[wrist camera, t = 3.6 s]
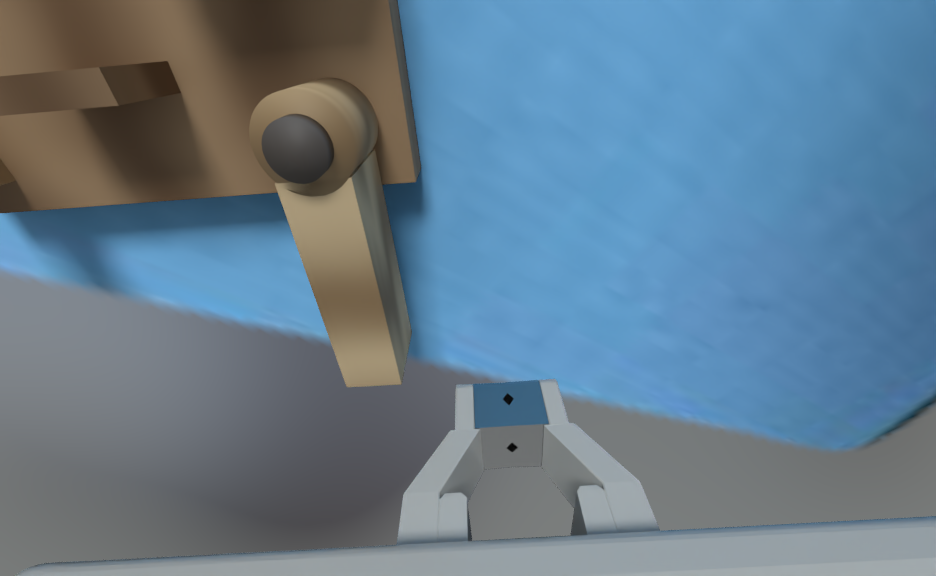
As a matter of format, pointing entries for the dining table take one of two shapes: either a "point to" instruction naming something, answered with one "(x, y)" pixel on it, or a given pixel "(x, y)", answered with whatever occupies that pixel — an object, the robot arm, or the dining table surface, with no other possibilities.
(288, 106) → the hinged leg
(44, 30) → the wooden assembly base board
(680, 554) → the robot arm
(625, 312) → the dining table surface
